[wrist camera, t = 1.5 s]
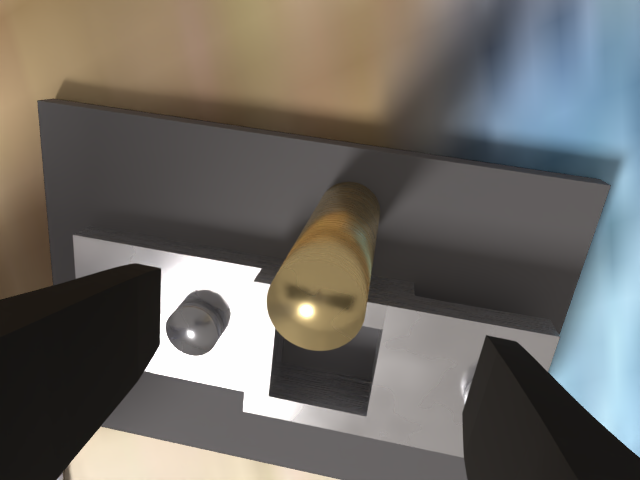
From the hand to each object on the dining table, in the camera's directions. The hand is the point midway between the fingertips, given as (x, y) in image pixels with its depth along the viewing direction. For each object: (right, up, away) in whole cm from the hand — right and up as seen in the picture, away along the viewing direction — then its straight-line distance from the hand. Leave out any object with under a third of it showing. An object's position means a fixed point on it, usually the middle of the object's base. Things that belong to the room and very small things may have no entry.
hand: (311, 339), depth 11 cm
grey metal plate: (-1, -2, +11) cm, 11 cm away
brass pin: (+1, +3, +8) cm, 9 cm away
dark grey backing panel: (-1, -1, +12) cm, 12 cm away
